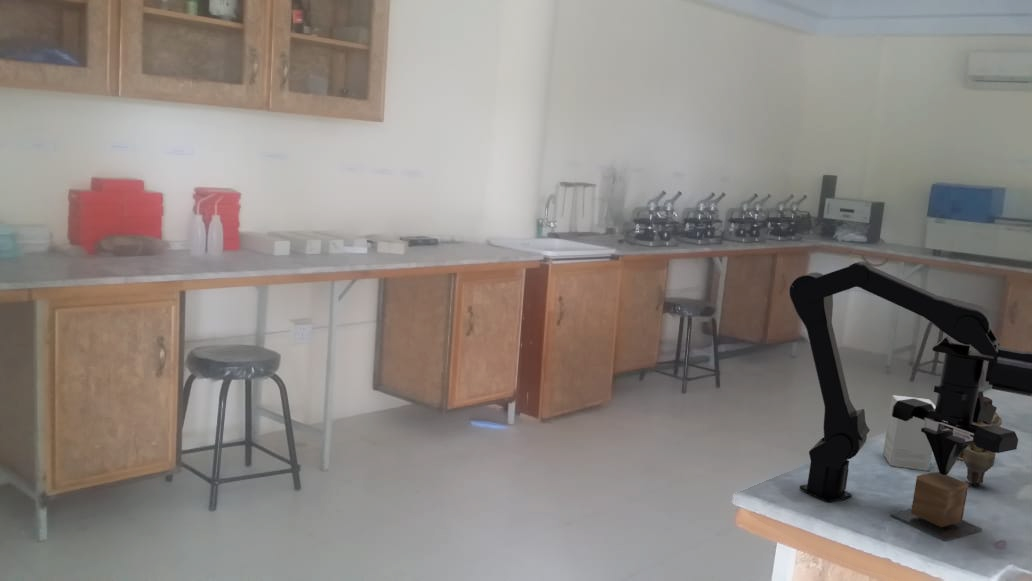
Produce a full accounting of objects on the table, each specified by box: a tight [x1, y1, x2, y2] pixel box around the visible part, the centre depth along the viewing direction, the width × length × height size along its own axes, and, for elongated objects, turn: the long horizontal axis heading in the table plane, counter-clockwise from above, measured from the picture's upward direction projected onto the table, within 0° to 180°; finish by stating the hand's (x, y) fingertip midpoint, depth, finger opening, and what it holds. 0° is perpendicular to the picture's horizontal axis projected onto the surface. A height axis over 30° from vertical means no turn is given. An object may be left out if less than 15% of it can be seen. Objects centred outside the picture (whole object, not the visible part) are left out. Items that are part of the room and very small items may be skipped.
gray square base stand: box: [889, 508, 983, 542], centre depth 147 cm, size 10×10×7 cm
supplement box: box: [882, 394, 936, 472], centre depth 176 cm, size 7×7×13 cm
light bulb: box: [962, 412, 1003, 487], centre depth 166 cm, size 6×6×15 cm
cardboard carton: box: [910, 470, 970, 527], centre depth 147 cm, size 6×6×7 cm
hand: (943, 474), depth 146 cm, fingers closed
